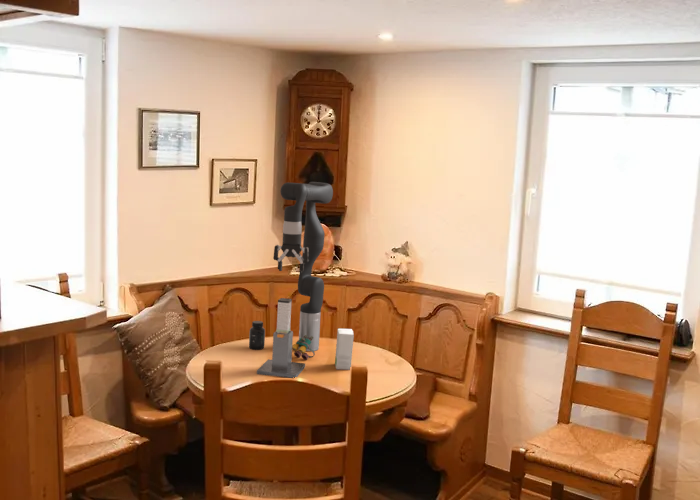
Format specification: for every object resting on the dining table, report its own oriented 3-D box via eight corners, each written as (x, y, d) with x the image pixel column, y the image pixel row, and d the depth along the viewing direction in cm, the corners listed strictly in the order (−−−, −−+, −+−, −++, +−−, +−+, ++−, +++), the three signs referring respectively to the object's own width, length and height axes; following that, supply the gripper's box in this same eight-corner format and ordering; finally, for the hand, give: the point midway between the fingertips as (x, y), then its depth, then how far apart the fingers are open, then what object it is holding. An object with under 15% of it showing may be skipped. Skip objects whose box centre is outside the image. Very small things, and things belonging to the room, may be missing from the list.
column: (278, 348, 291) (280, 297, 288) (289, 349, 290) (291, 299, 288) (275, 351, 287) (277, 300, 284) (286, 352, 286) (288, 301, 283)
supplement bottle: (245, 348, 318) (246, 322, 316) (255, 345, 324) (256, 319, 322) (257, 351, 315) (258, 324, 313) (267, 348, 320) (268, 322, 319)
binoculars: (294, 360, 311) (287, 344, 306) (306, 346, 317) (299, 330, 311) (311, 365, 306) (303, 349, 300) (323, 351, 311) (316, 334, 306)
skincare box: (334, 363, 304) (336, 327, 301) (350, 364, 304) (352, 328, 302) (336, 369, 295) (338, 333, 293) (351, 370, 296) (354, 333, 294)
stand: (268, 362, 299) (269, 325, 297) (305, 366, 296) (307, 329, 294) (256, 374, 283) (258, 335, 281) (295, 378, 281) (297, 339, 278)
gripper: (311, 232, 291) (309, 271, 293) (277, 229, 293) (276, 268, 296) (307, 234, 284) (305, 274, 286) (272, 232, 286) (271, 271, 288)
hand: (290, 271), depth 291 cm, fingers open, 8 cm apart
